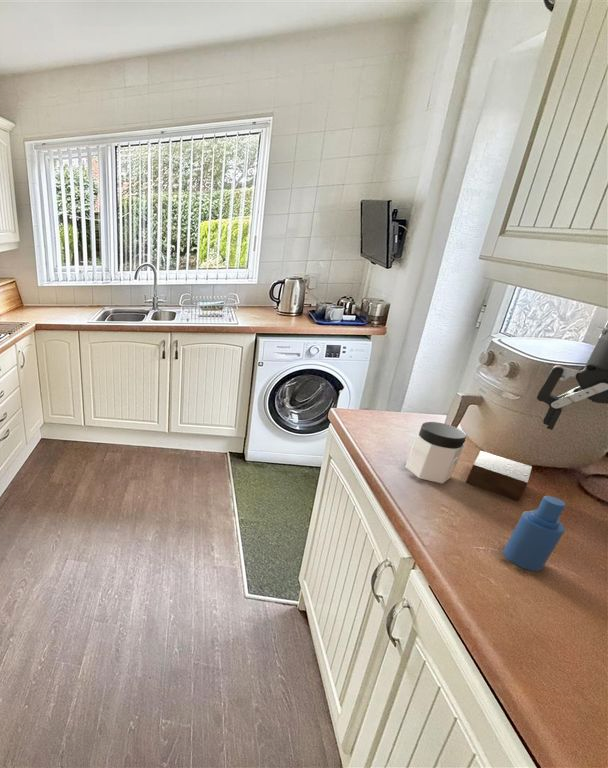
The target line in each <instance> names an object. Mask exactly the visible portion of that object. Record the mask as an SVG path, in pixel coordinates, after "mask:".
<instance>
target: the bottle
mask: <svg viewBox="0 0 608 768" xmlns="http://www.w3.org/2000/svg"><path fill="white" fill-rule="evenodd" d="M566 505H567V503H566V502H565V501H563V500H562V499H560V498H558V497H555V496H551V495H545V496H543V498H542V500H541V501H540V504H539V505H538V507H537V509H532V510H531V511H530V510H526V511H524V512H523V513H522V514H521V516H520V518H519V520H518V521H517V524H516V526H515V527H514V529H513V531H512V533H511V535H510V537H509V539H508V540H507V543H506V544H505V547H504V549H503V550H502V554H503V556H504V557H505V558H506V559H507V560H508V561H509V562H511V563H512V564H514V565H515V566H518V567H520V568H522V569H524V570H527V571H531V572H540V571H542V570H543V569H544V567H545V565H546V563H547V561H548V560H549V558H550V557H551V555H552V553H553V551H554V550H555V548H556V546H557V545H558V543H559V541H560V540H561V538H562V536H563V534H564V533H565V531H566V528H565V525H563V523H562V521H561V520H560V519H559V518H560V516H561V515H562V513H563V511H564V510H565V507H566Z"/></svg>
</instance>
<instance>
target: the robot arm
mask: <svg viewBox="0 0 608 768" xmlns="http://www.w3.org/2000/svg"><path fill="white" fill-rule="evenodd" d="M569 378H575V381H576V382H577V384H578V386H576V387H574V388H572V389H570V390H568V391H566V392H564V393H562V394H560V395H558V396H556V395H553V394H552V392H553V391H554V389H555V388H556V385H557V384H558V382H565V381H567V380H569ZM585 399H587V400H589V401H590V402H591V403H597V404H606V405H607V404H608V320H607V321H606V324H605V325H604V327H603V329H602V331H601V333H600V335H599V338H598V340H597V341H596V344H595V345H594V347H593V349H592V352H591V354H590V356H589V358H588V359H587V362H586V364H585V365H584V366H583V367H582V368H580V369H579V370H578V369H575V368H571V367H566V366H565V365H563V364H561V363H558V364H554V366H553V367H552V368H551V370H550V372H549V374H548V376H547V377H546V379H545V381H544V382H543V384H542V386H541V388H540V390H539V391H538V393H537V397H536V400H537V401H539V402H542V403H545V404H547V405H548V406H549V407H548V408H547V411H546V413H545V415H544V417H543V419H542V424H543V425H545V426H546V429H548V430H551V431H553V430H554V428H555V426H556V424H557V421H558V420H559V418H560V416H561V415H562V412H563V409H564V407H566V406H568V405H570V404H573V403H578V402H580V401H583V400H585Z"/></svg>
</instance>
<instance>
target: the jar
mask: <svg viewBox="0 0 608 768" xmlns="http://www.w3.org/2000/svg"><path fill="white" fill-rule="evenodd" d="M466 438H467V434H466V433H465V432H464V431H463V430H462V429H460V428H458V427H456V426H453V425H450V424H447V423H443V422H437V421H426V422H424V423H422V424H421V427H420V429H419V432H418V434H417V435H416V436H415V438H414V441H413V444H412V447H411V450H410V453H409V456H408V458H407V461H406V464H405V468H406V469H407V470H408V471H409V472H411V474H413V475H414V476H415V477H416V478H418V479H420V480H424V481H429V482H433V483H438V484H442V485H443V484H445V482H447V481H448V480H449V479H451V478H452V476H453V474H454V472H455V468H456V466H457V463H458V461H459V459H460V457H461V455H462V452H463V449H464V447H465V442H466Z"/></svg>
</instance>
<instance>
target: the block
mask: <svg viewBox="0 0 608 768" xmlns="http://www.w3.org/2000/svg"><path fill="white" fill-rule="evenodd" d="M532 471H533V466H531V465H529V464H525V463H521V462H519V461H516V460H513V459H509V458H507V457H506V458H505V457H503V456H499V455H496V454H493V453H490V452H486V451H484V450H479V452H478V454H477V456H476V458H475V460H474V461H473V465H472V466H471V469H470V472H469V473H468V476H467V478H466V480H465V483H466V484H469V485H471V486H474V487H477V488H480V489H483V490H486V491H488V492H492V493H494V494H496V495H499V496H502V497H505V498H507V499H511V500H513V501H517V502H519V501H520V499H521V498H522V495H523V494H524V492H525V490H526V488H527V486H528V483H529V480H530V476H531V473H532Z"/></svg>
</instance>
